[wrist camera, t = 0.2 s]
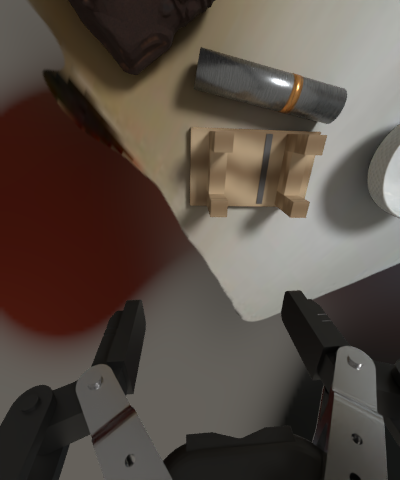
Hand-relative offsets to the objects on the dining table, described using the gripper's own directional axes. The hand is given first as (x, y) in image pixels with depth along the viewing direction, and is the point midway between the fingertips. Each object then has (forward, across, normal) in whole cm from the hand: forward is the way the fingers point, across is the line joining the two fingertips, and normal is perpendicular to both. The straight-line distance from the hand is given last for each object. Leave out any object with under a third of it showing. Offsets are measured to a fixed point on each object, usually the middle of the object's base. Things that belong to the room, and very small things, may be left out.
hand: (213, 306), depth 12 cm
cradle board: (+28, -10, -2) cm, 30 cm away
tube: (+28, -11, -13) cm, 33 cm away
